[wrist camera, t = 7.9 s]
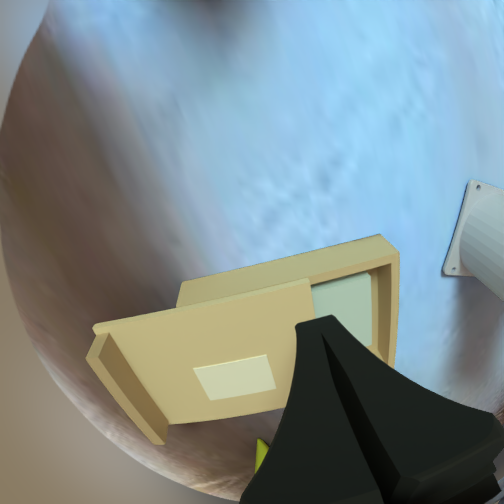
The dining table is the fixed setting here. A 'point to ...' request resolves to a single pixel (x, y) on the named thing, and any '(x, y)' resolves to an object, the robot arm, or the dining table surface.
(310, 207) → the dining table surface
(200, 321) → the lid
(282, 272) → the mailer box
